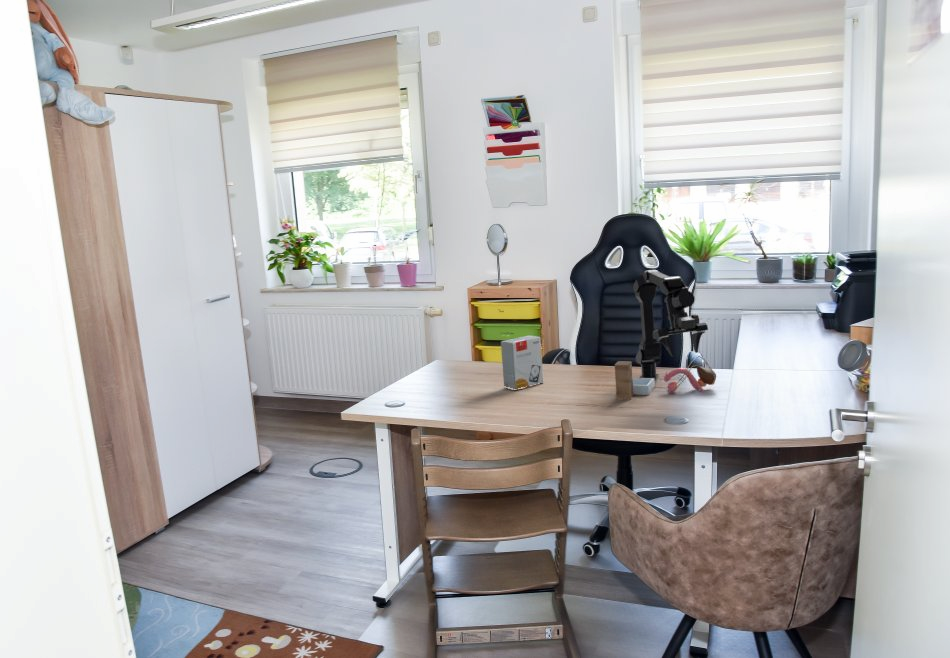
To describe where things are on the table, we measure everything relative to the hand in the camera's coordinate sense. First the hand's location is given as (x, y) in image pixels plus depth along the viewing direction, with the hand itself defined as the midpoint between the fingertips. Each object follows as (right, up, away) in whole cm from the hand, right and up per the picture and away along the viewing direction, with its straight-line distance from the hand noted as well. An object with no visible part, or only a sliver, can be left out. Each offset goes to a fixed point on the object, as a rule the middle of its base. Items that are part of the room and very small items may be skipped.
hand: (684, 354), depth 245 cm
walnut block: (-19, -16, +10) cm, 27 cm away
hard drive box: (-54, -15, +39) cm, 69 cm away
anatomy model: (+6, -14, +11) cm, 19 cm away
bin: (-13, -14, +17) cm, 26 cm away
